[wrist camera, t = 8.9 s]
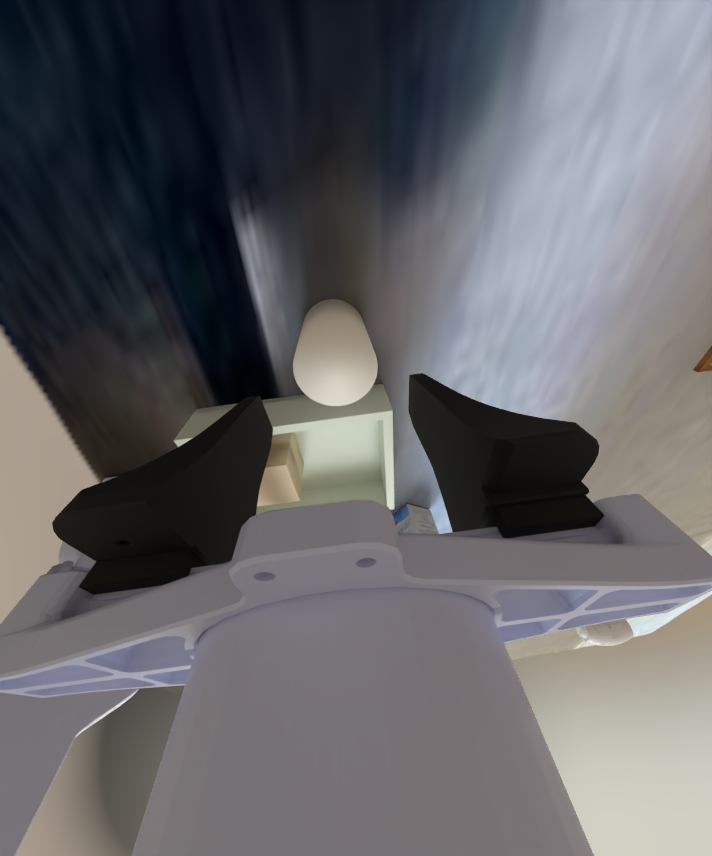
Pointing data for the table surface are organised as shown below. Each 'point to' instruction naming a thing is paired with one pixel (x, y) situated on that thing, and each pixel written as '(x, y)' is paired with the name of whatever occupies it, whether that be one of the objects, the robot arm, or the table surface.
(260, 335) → the table surface
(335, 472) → the tote
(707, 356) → the diary
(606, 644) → the white rounded block
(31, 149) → the table surface
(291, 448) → the oak cube
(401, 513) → the medicine box
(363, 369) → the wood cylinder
